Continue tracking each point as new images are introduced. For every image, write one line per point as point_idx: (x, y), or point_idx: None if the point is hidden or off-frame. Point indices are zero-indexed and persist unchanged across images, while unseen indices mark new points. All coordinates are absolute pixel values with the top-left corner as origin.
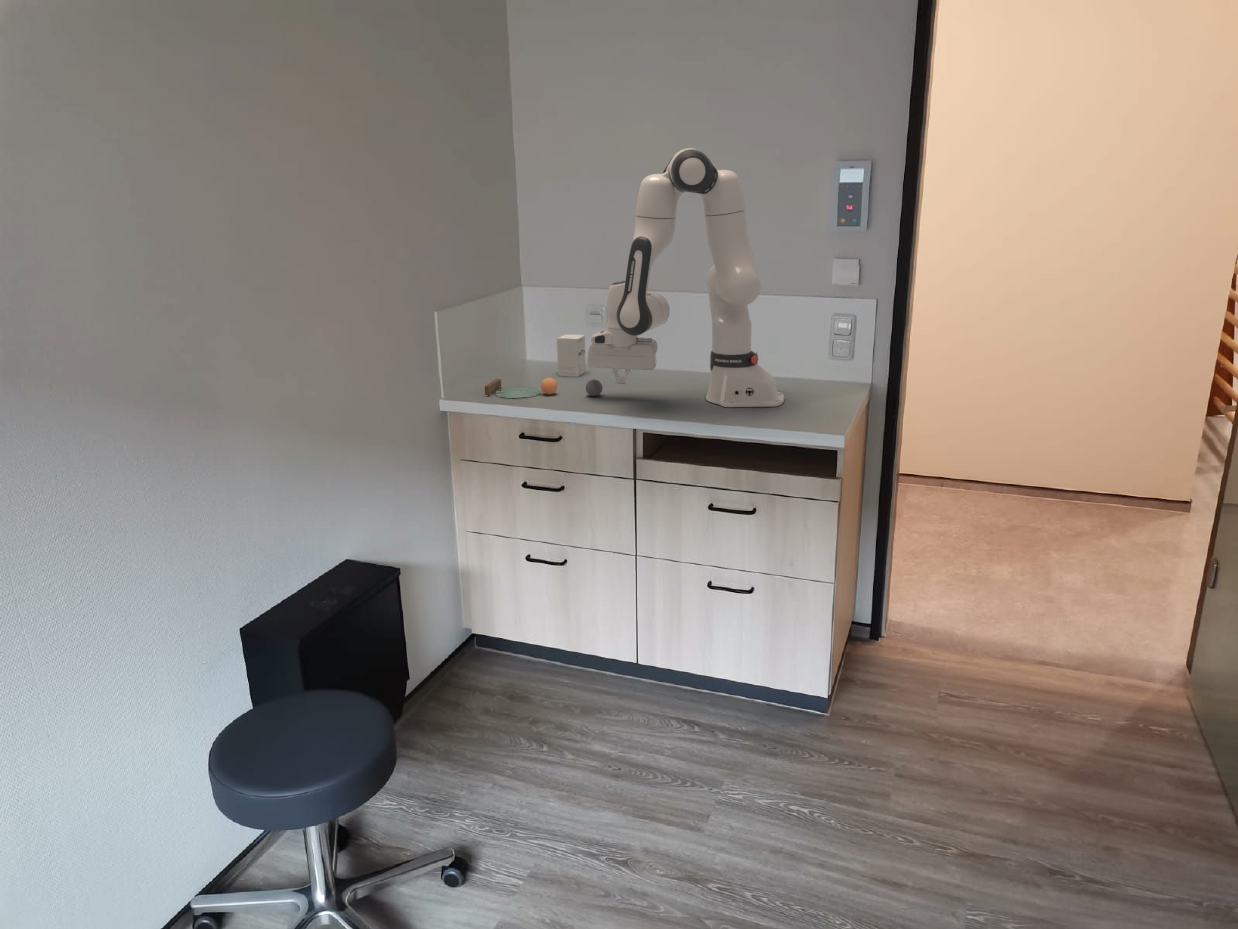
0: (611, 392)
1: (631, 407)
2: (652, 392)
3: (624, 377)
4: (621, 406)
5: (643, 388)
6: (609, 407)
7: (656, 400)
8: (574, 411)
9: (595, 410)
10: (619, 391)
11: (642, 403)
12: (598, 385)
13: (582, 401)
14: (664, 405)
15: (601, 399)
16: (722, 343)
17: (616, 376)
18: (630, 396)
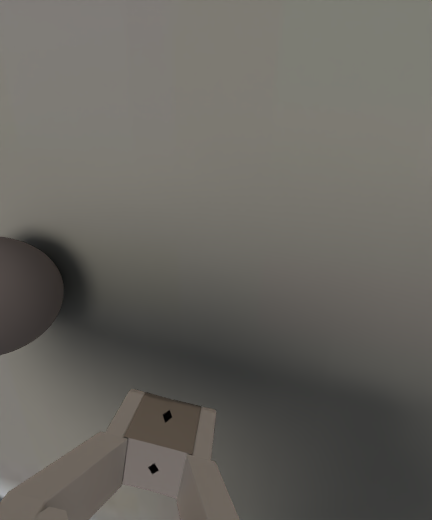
0: (128, 199)
1: (241, 497)
2: (421, 230)
3: (181, 513)
4: None
5: (376, 84)
6: None
7: (394, 420)
8: None
9: None
10: (179, 175)
11: (303, 454)
12: (7, 350)
13: (11, 367)
14: (413, 507)
15: (92, 349)
16: None
17: (93, 500)
18: (249, 314)
